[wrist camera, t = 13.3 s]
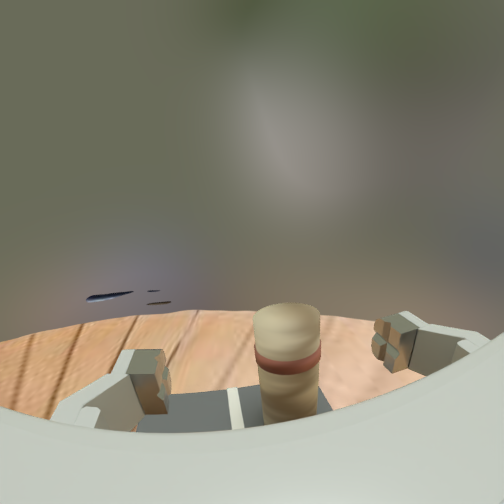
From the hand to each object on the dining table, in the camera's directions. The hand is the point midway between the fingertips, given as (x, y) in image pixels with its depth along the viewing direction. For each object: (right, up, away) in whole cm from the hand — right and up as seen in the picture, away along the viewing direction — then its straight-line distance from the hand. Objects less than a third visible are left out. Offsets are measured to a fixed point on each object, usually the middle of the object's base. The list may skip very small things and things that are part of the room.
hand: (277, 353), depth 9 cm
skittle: (+3, -13, +13) cm, 18 cm away
